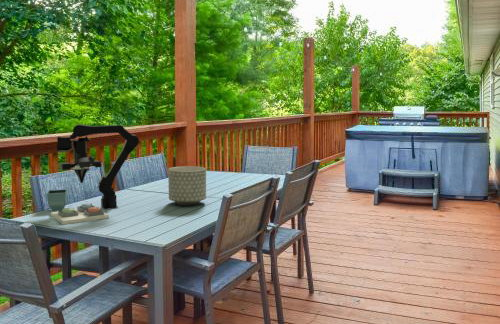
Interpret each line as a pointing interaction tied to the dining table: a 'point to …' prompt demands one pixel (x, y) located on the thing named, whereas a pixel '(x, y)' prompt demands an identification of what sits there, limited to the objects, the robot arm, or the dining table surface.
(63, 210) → the sage button
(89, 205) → the slate button
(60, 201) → the flower pot
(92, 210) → the brick button
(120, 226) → the dining table surface
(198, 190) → the planter
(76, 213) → the button panel
